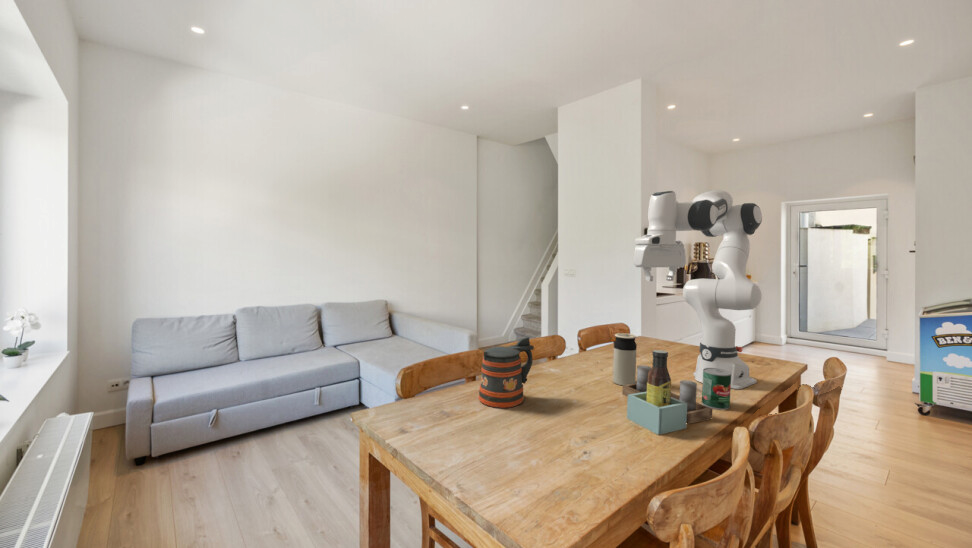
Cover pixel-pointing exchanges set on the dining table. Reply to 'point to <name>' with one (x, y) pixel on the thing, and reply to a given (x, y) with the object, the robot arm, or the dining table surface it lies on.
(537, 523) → the dining table surface
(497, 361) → the beer stein
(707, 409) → the rack
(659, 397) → the sauce bottle
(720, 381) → the canned tomato
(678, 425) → the box
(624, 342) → the travel mug
